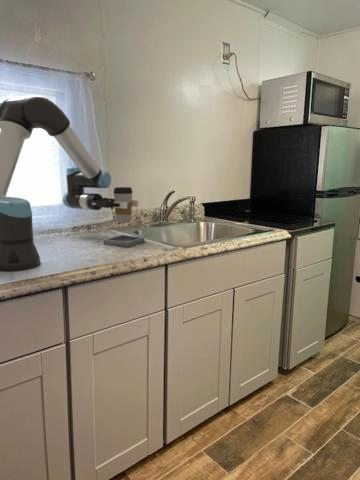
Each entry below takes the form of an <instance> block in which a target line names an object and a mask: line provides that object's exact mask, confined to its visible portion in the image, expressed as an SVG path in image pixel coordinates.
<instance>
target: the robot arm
mask: <svg viewBox="0 0 360 480" xmlns="http://www.w3.org/2000/svg"><path fill="white" fill-rule="evenodd" d="M34 129H43V130H44V131H45V132H46V133H47V134H48V135H49V136H50V137H53V138H54V139H55V141H57V143H58V144H59V145H60V147H61V148H62V150H64V151H65V153H66V154H67V156H68V157H69V158H70V160H71V161H72V162H73V163H74V164H75V166H68V167H67V168H66V186H67V191H66V192H65V193H64V194H63V197H62V203H63V204H64V206H65V207H67V208H70V209H78V210H81V209H82V210H86V211H90V210H92V211H100V210H102V208H104V209H105V208H106V209H110V210H114V209H115V208H124V209H127V202H117V201H115V200H114V198H110V197H109V198H108V197H103V196H102V195H101V194H100V193H91V192H85V189H87V188H88V189H89V188H90V189H107V188H109V187H110V186H111V183H112V175H111V173H110V172H108V171H105V170H102V169H100V167H99V165H98V164H97V163H96V160H94V158H93V157H92V155H91V154H90V152H89V151H88V149H87V147H86V146H85V145H84V143H83V142H82V140H80V138H79V137H78V135H77V134H76V133H75V131H74V129H73V128H72V127H71V121H70V119H69V118H68V117H67V115H66V114H65V113H64V111H63V110H62V109H61V108H60V107H59V106H58V105H57V104H56V103H54V101H51V100H50V99H49V98H47V97H45V96H42V95H37V94H31V95H23V96H22V95H21V96H10V97H6V98H4V99H2V100H0V271H2V272H12V271H13V272H17V271H23V270H29V269H33V268H36V267H38V266H39V265H41V256H40V255H39V252H38V250H37V247H36V245H35V242H34V230H33V229H34V228H33V227H34V226H33V211H32V208H31V203H30V201H29V200H27V199H24V198H21V197H17V196H16V197H12V196H7V193H8V190H9V187H10V184H11V181H12V179H13V175H14V173H15V170H16V167H17V164H18V161H19V158H20V154H21V152H22V149H23V146H24V143H25V140H27V139H30V138H31V137H32V133H33V131H34ZM132 207H135V208H136V207H137V208H139V200H137V199H136V200H135V199H132Z"/></svg>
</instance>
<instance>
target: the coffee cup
mask: <svg viewBox="0 0 360 480" xmlns="http://www.w3.org/2000/svg"><path fill="white" fill-rule="evenodd" d="M113 197H114V198H113V199H114V200H115V201H117V202H127V209H124V208H114V210H115V211H114V212H115V219H116V222H117V223H118V224H129V223H131V221H132V212H133V211H132V209H133V206H132V200H133V190H132V187H128V186H119V187H114V189H113Z"/></svg>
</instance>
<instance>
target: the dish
mask: <svg viewBox="0 0 360 480" xmlns="http://www.w3.org/2000/svg"><path fill="white" fill-rule="evenodd" d="M145 239H146V238H145V237H143V236H134V235H126V234H125V235H124V234H121V235H117V236H111V237H108V238H104V239H103V245H105V246H112V247H119V248H126V249H128V248H132V247H135V246H137V245H140V244H144V243H145V242H146V241H145Z"/></svg>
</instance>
